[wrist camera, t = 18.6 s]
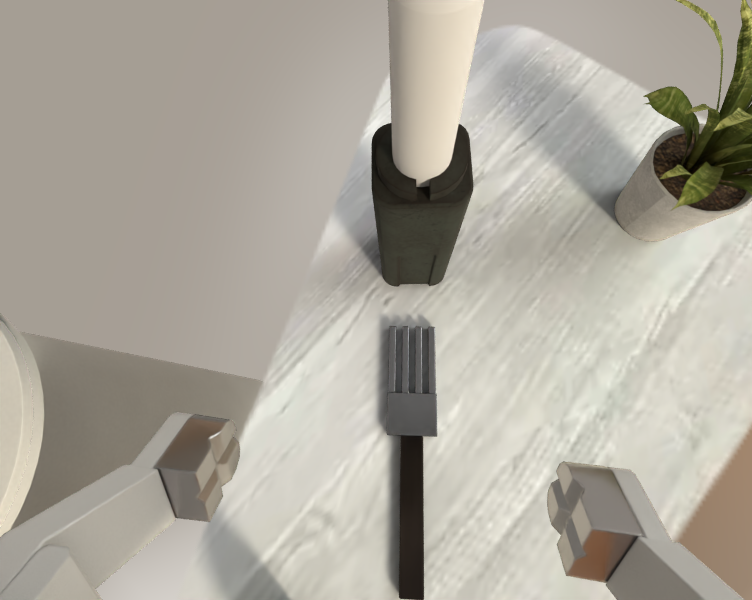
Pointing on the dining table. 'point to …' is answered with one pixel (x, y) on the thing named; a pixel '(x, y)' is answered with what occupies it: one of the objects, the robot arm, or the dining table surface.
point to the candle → (424, 139)
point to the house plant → (695, 155)
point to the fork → (411, 453)
